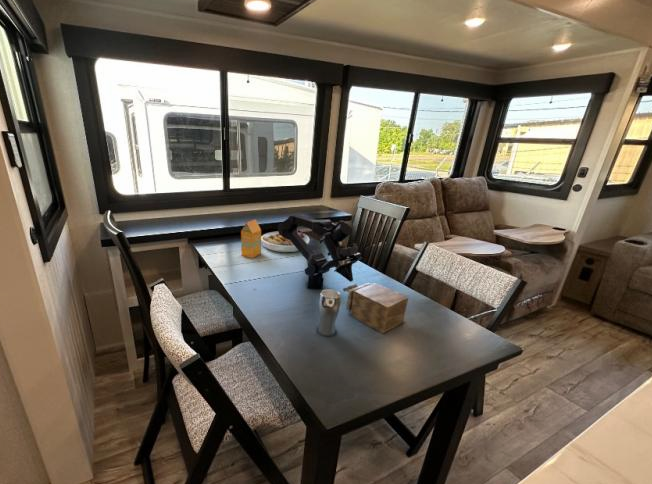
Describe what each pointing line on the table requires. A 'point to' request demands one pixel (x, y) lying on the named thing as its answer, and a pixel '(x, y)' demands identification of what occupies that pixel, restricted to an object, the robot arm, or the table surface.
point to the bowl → (280, 242)
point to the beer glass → (328, 311)
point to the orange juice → (251, 239)
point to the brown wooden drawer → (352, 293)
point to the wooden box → (379, 307)
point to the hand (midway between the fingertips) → (351, 281)
